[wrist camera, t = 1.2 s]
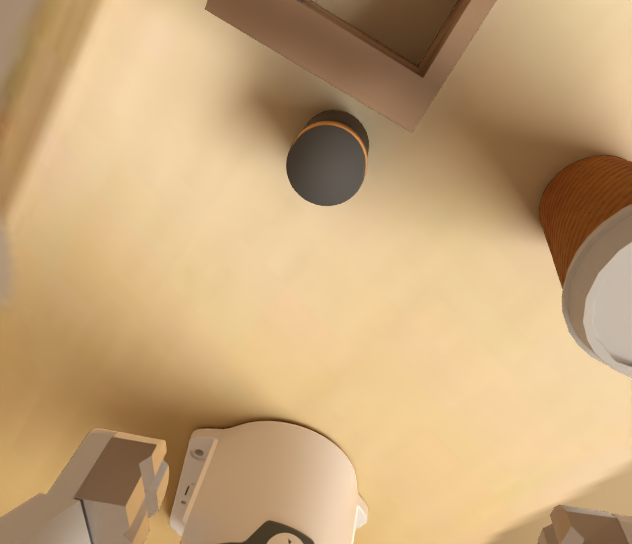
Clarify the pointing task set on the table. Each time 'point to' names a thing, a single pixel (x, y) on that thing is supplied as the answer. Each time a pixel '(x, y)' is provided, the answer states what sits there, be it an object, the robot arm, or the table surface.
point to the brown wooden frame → (357, 51)
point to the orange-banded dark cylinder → (328, 158)
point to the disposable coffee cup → (594, 254)
